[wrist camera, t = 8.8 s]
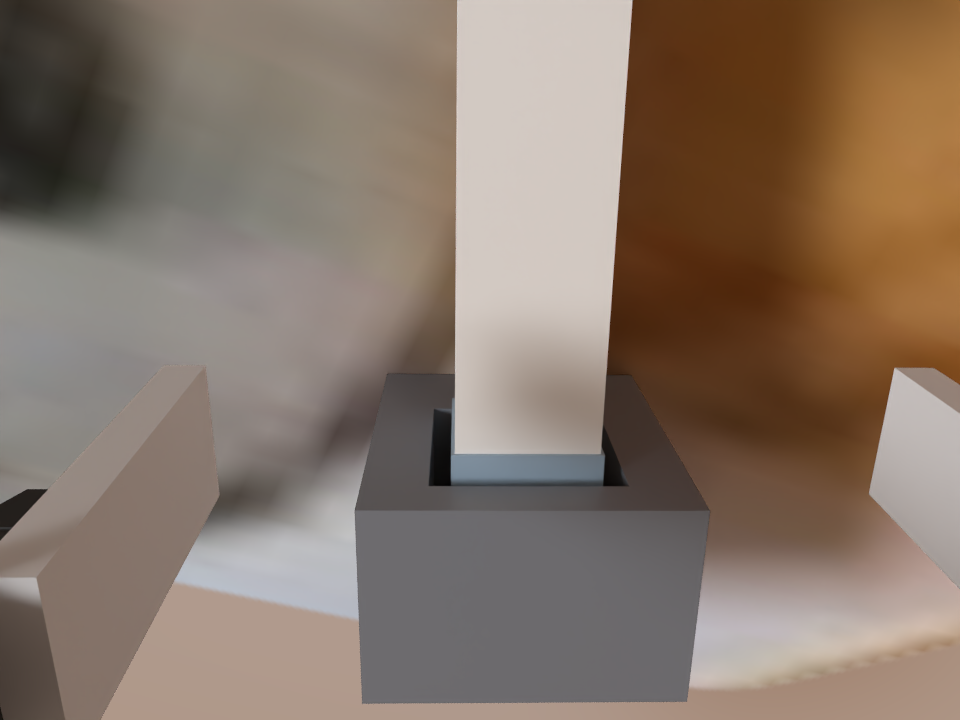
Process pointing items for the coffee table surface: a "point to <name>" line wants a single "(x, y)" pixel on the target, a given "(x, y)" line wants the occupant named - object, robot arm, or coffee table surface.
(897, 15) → the coffee table surface
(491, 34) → the tube
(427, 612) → the socket fitting
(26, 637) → the robot arm
